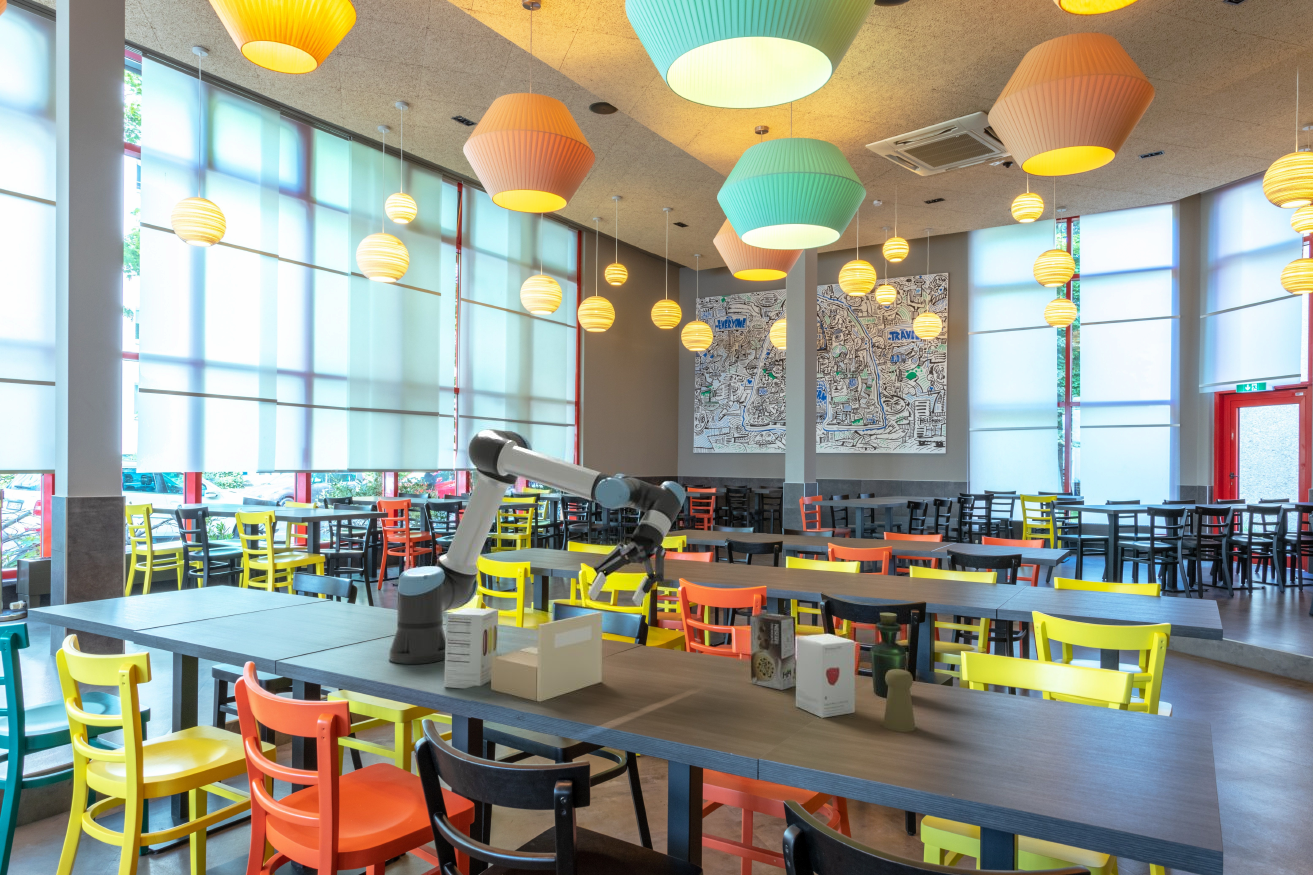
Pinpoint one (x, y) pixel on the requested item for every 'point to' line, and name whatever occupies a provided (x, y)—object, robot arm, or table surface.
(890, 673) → the olive pawn
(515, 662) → the carton
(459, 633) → the supplement box
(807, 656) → the supplement box
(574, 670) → the carton flap
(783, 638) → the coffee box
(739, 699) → the table surface
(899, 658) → the potion bottle
